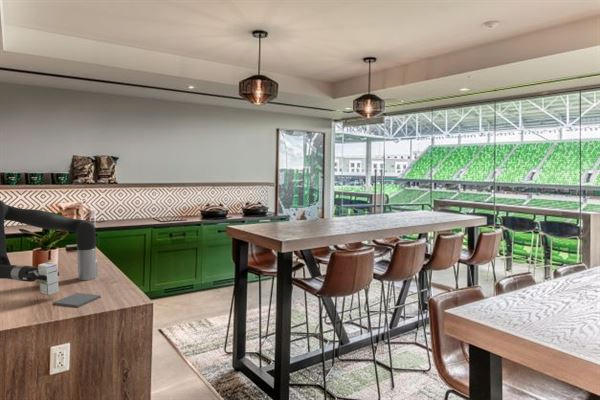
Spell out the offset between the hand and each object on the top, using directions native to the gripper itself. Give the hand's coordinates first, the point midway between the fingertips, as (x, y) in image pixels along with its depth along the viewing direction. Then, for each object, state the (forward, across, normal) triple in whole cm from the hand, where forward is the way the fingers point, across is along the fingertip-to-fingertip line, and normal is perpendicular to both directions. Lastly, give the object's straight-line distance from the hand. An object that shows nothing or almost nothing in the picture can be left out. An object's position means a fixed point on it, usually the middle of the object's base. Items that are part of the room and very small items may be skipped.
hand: (52, 276), depth 185 cm
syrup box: (-2, 0, +9) cm, 9 cm away
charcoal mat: (+12, +2, +12) cm, 17 cm away
